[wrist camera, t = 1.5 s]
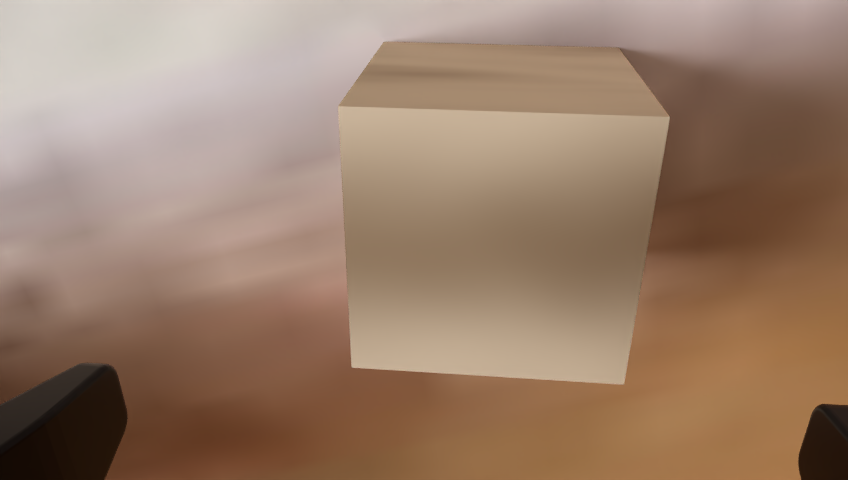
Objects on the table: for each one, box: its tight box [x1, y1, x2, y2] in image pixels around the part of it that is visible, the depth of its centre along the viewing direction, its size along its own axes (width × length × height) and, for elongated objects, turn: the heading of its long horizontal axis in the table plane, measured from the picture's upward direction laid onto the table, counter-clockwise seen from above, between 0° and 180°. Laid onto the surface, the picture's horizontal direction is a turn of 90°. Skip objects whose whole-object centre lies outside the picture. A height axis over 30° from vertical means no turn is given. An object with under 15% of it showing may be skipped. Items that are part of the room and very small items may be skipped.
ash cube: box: [338, 42, 670, 385], centre depth 17 cm, size 6×6×6 cm
